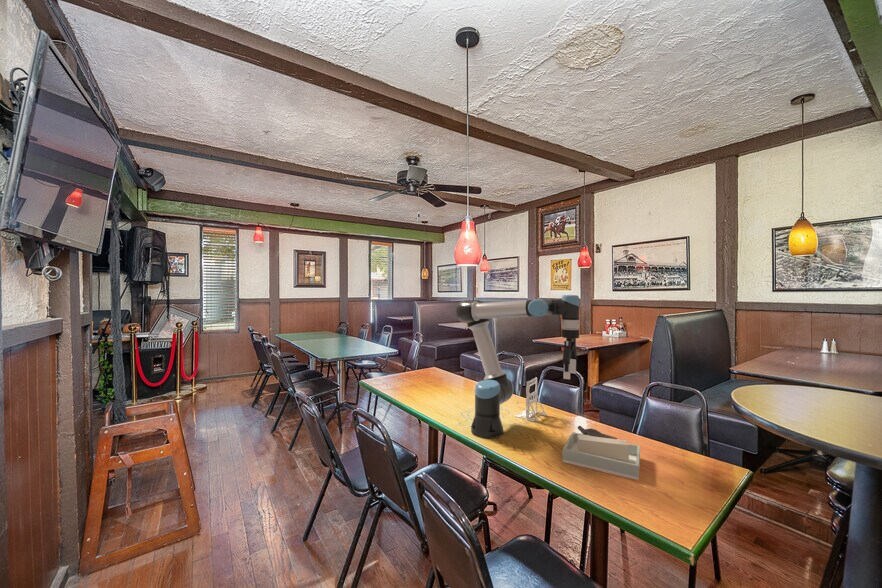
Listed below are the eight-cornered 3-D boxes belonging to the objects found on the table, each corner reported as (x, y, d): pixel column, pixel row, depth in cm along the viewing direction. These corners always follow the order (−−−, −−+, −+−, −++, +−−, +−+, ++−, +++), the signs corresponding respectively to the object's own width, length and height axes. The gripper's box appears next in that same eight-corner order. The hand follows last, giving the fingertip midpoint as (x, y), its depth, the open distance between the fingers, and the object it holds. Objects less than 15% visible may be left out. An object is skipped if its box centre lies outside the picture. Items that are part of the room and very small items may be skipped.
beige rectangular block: (578, 454, 140) (578, 439, 140) (577, 449, 145) (577, 434, 145) (628, 461, 135) (628, 445, 135) (626, 455, 139) (626, 440, 139)
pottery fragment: (619, 442, 158) (620, 432, 158) (604, 448, 151) (604, 438, 151) (590, 431, 170) (590, 422, 170) (574, 435, 164) (574, 426, 164)
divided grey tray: (562, 461, 138) (562, 448, 138) (572, 443, 155) (572, 432, 155) (638, 480, 124) (638, 466, 124) (640, 458, 142) (640, 445, 142)
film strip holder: (523, 410, 200) (523, 374, 200) (547, 415, 191) (548, 378, 192) (512, 417, 188) (513, 379, 188) (538, 423, 180) (538, 383, 180)
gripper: (573, 331, 147) (573, 382, 147) (583, 327, 168) (583, 371, 168) (555, 330, 151) (554, 380, 151) (567, 326, 172) (566, 370, 172)
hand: (569, 376), depth 159 cm, fingers open, 13 cm apart
